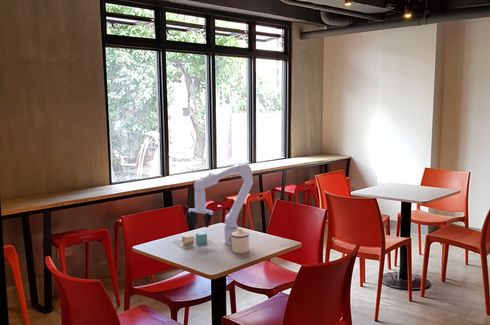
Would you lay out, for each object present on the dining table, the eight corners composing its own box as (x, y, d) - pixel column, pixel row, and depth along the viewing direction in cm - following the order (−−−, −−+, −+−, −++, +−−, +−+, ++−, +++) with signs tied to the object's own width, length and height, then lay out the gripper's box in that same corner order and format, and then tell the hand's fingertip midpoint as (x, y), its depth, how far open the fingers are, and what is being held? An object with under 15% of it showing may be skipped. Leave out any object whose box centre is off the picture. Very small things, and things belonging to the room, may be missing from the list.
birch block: (193, 245, 244) (193, 236, 243) (185, 246, 241) (185, 237, 241) (190, 243, 247) (189, 234, 247) (182, 244, 245) (182, 235, 245)
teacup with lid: (253, 250, 235) (252, 228, 233) (241, 255, 228) (241, 232, 226) (235, 246, 242) (234, 224, 241) (223, 250, 235) (222, 228, 234)
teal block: (207, 242, 248) (206, 233, 247) (199, 244, 245) (199, 235, 245) (203, 240, 252) (203, 231, 251) (196, 242, 249) (195, 233, 249)
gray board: (217, 246, 244) (217, 244, 243) (186, 252, 234) (186, 250, 234) (201, 237, 261) (201, 236, 260) (171, 242, 251) (171, 241, 251)
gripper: (215, 201, 246) (216, 226, 248) (193, 199, 253) (194, 223, 255) (208, 203, 240) (209, 229, 241) (185, 201, 247) (186, 226, 248)
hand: (201, 226), depth 248 cm, fingers open, 7 cm apart
